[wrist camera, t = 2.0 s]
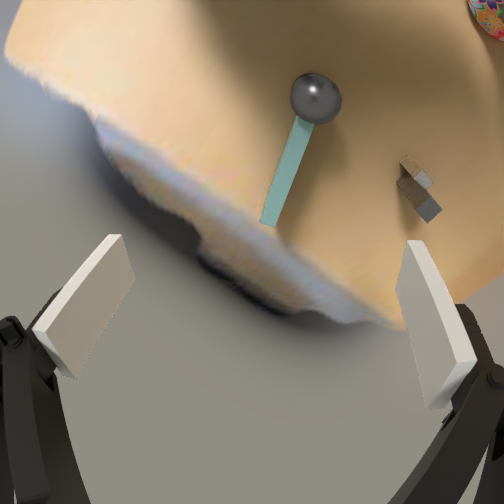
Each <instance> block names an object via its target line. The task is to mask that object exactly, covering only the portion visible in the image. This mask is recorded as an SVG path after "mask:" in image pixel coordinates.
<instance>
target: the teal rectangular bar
mask: <svg viewBox="0 0 504 504" xmlns="http://www.w3.org/2000/svg"><path fill="white" fill-rule="evenodd" d="M314 126H315V124H312V123H308V122H306V121H304V120H302V119H301V118H299V117H298V116H297V115H296V117H295V120H294V123H293V125H292V128H291V131H290V133H289V136H288V139H287V142H286V144H285V147H284V150H283V153H282V155H281V158H280V161H279V164H278V166H277V169H276V172H275V175H274V177H273V180H272V183H271V186H270V188H269V191H268V194H267V197H266V200H265V203H264V207H263V211H262V215H261V219H260V223H263V224H266V225H269V226H272V227H275V225H276V223H277V220H278V218H279V215H280V213H281V210H282V208H283V205H284V202H285V200H286V197H287V195H288V192H289V190H290V187H291V185H292V182H293V180H294V177H295V174H296V172H297V169H298V167H299V164H300V162H301V159H302V157H303V154H304V151H305V149H306V146H307V144H308V141H309V139H310V136H311V133H312V131H313V128H314Z"/></svg>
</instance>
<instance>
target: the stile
mask: <svg viewBox="0 0 504 504" xmlns="http://www.w3.org/2000/svg"><path fill="white" fill-rule="evenodd" d="M400 163H401V164H402V165H403V166H404V168H405V169H406V170H407V172H406V173H405V174H404V175H403V176H402V177H401V178H400V179H399V180H398V181H397V184H398V185H399V187H400V188H401V189H402V191H403V192H404V194H405V195H406V197H407V198H408V200H409V201H410V203H411V204H412V206H413V207H414V209H415V210H416V211H417V212H418V213H419V215H420V216H421V217H422V218H423V219H424V220H425V221H426V222H427V223H428V222H430V221H431V220H432V219H433V218H434V217H435V216H436V215H437V214H438V213H439V212H440V211H441V210H442V209H441V207H440V206H439V205H438V204H437V202H436V201H435V200H434V199H433V197H432V196H431V195H430V194H429V193H428V191H427V190H426V189H427V188H429V187H430V186H431V185H432V184H433V182H432V181H431V179H430V178H429V177H428V176H427V175H426V174H425V172H424V171H423V170H422V169H421V168H420V167H419V166H418V165H417V164H416V163H415V162H414V161H413V160H412V159H411V158H410V157H409V156H408V155H406V156H405V157H404V158H403V159H402V160H401V161H400Z"/></svg>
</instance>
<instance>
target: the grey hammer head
mask: <svg viewBox="0 0 504 504" xmlns="http://www.w3.org/2000/svg"><path fill="white" fill-rule="evenodd" d="M290 100H291V106H292V108H293V110H294V112H295V113H296V115H297V116H298V117H299V118H301V119H302V120H304V121H306V122H308V123H312V124H322V123H326V122H328V121H330V120H332V119H333V118H334V117H335V116H336V115H337V114H338V112H339V110H340V108H341V103H342V98H341V94H340V91H339V89H338V87H337V86H336V85H335V84H334V83H333V82H332V81H331V80H329V79H328V78H326V77H323V76H321V75H319V74H315V73H308V74H304V75H302V76H300V77H299V78H298V79H297V80H296V81H295V83H294V85H293V88H292V92H291V97H290Z"/></svg>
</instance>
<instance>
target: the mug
mask: <svg viewBox="0 0 504 504" xmlns="http://www.w3.org/2000/svg"><path fill="white" fill-rule="evenodd" d="M468 4H469V7H470V9H471V11H472V13H473V15H474V17H475V19H476V20H477V22H478V23H479V24H480V26H481V27H482V28H483V29H484V30H485V31H486V32H487V33H488V34H490V35H491V36H493V37H494V38H496V39H498V40H500V41H504V0H468Z"/></svg>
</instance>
